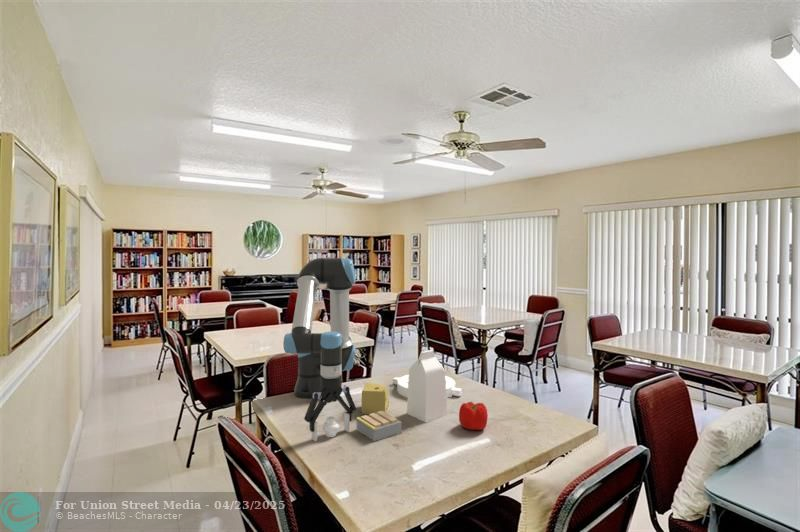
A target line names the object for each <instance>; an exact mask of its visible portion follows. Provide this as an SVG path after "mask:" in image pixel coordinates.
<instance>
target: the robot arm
mask: <svg viewBox="0 0 800 532" xmlns="http://www.w3.org/2000/svg"><path fill="white" fill-rule="evenodd" d="M355 274H356V273H355V266H354V262H353V260H352V259H351V258H343V257H331V258H330V257H326V258H325V257H324V258H323V257H317V258H314V259H312V260H310V261H309V262H307V263H306V264H305V265H303V267H302V268H301V270H300V272H299V274H298V276H297V279H296V286H297V287H298V289H297V293H296V294H297V295H296V300H295V301H296V302H295V307H294V308H295V309H294V312H293V313H294V314H293V319H292V326H291V332H289V333H286V334H284V337H283V350H284V353H286V354H293V355H294V354H295V355H297V361H298V362H297V366H298V367H297V380H296V382H295V386H294V390H293V391H294V396H296V397H298V398H302V399H311V400H310V403H309V404H308V408H307V410H306V412H305V414H304V418H303V419H304V421H305V422H306V423H309V431H310V432H311V439H312V440H313V441H314V442H318V422H317V421H316V420H317V419H318V418H319V416H320V414H321V412H322V411H323V409H324V408H325V406H327V404H331V403H332V402H333V403H334V402H337V401H338V403H339V405H341V406H342V408H343V409H344V410H345V411H343V430H344V431H345V432H347V433H349V432H350V430H351V429H350V425H351V423H350V422H351V421H352V415H353V413H354V411H356V410H357V407H356V405H355V403H354V402H355V401H354V399H353V397H352V395H351V391H350V387H349V386H348V385H342V383H343V381H342V380H343V377H342V374H343V373H342V372H344V371H350V370H352V369H353V367H354V363H355V362H354V361H355V355H356V345H354V344H353V341H352V340H351V339H350V291H351V290H352V288H353V285H354V284H356V276H355ZM320 284H321V285H326V289H327V290H328V291H329V301H330V302H329V306H330V307H329V308H330V309H329V310H330V311H329V312H330V313H329V314H330V316H329V317H330V319H329V320H330V331H326V332H321V333H320V332H318V333H317V332H316V333H312V331H313V330H312V329H313V323H314V322H313V320H314V312H315V311H314V310H315V305H316V295H317V289H318V288H319V287H320ZM342 393H343V394H344V396H345V398H346V401H347V402H346V401H345V400H344V399H343V397H342V396H341V394H342Z"/></svg>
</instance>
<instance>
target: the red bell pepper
mask: <svg viewBox="0 0 800 532" xmlns="http://www.w3.org/2000/svg"><path fill="white" fill-rule="evenodd" d="M488 416H489V415H488V409H487V406H486V404H484V403H483V402H477V403H474V402H473V401H468V402H463V403H462V404H460V407H459V413H458V420H459V423H460V424H459V425H460V426H462V427H463V428H464V429H466V430H469V431H470V430H472V431H473V430H475V431H481V430H484V429H486V428H487V423H488Z"/></svg>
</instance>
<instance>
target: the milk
mask: <svg viewBox="0 0 800 532" xmlns="http://www.w3.org/2000/svg"><path fill="white" fill-rule="evenodd" d="M408 375H409V380H408V398H406V399H407V400H406V401H407V402H406V415H409V416H411V417H413V418H415V419H418V420H419V421H422V422H424V423H429V422H431V421H434V420H438V419H440V418H443V417H445V416H448V409H447V408H448V405H447V398H446V382H445V376H446V371H445V368H444V366H443V365H442V364H441V363H440V361H439V360H438V358H437V357H436V354H435V351H434V350H433V349H430V350H429V349H428V350H425V351H421V352H420V354H419V357H418V359H417V360H416V361H415V362H414V363H412V365H411V366H410V368H409V369H408Z"/></svg>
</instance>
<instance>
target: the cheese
mask: <svg viewBox="0 0 800 532" xmlns="http://www.w3.org/2000/svg"><path fill="white" fill-rule="evenodd" d="M389 404H390V399H389V389H388V386H385V385H384V384H380V383H375V382H374V383H373V382H366V383H365V384H364V386H363V389H362V391H361V414H362V415H369V414H372V413H375V414H377V412H379V411H383V412H385V413H387V409H388V408H389Z"/></svg>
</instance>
